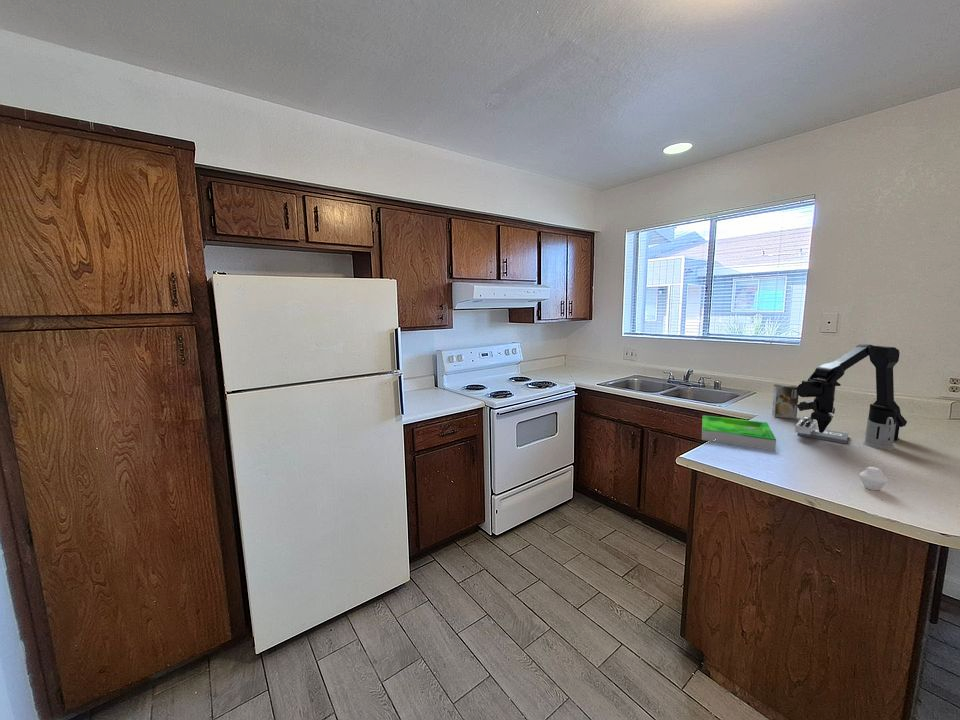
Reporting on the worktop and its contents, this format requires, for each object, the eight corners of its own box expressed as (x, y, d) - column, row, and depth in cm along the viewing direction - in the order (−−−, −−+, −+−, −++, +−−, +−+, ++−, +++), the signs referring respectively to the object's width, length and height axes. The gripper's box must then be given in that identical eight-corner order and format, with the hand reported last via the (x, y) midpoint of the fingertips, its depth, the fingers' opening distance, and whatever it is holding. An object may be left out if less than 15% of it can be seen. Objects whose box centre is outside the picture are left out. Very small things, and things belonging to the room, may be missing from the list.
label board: (847, 436, 161) (848, 432, 161) (846, 443, 153) (846, 439, 153) (801, 428, 173) (801, 425, 172) (797, 435, 164) (797, 431, 164)
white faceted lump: (884, 495, 112) (887, 473, 111) (855, 487, 117) (858, 466, 116) (887, 489, 115) (890, 467, 114) (860, 482, 120) (862, 461, 119)
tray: (701, 425, 182) (702, 415, 181) (766, 433, 169) (767, 422, 168) (701, 440, 160) (702, 429, 160) (774, 451, 148) (776, 439, 147)
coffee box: (793, 415, 193) (796, 385, 191) (796, 419, 188) (800, 387, 186) (771, 413, 198) (774, 383, 196) (773, 416, 192) (776, 386, 190)
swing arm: (800, 426, 170) (801, 415, 169) (815, 428, 166) (816, 417, 165) (794, 434, 160) (795, 422, 159) (810, 437, 156) (811, 425, 155)
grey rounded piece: (888, 444, 153) (893, 408, 151) (904, 455, 141) (910, 417, 139) (859, 440, 157) (863, 405, 155) (872, 451, 145) (877, 414, 143)
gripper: (802, 390, 168) (799, 423, 170) (796, 397, 155) (792, 433, 157) (837, 393, 160) (833, 428, 162) (833, 401, 147) (828, 439, 149)
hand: (821, 432), depth 158 cm, fingers closed
